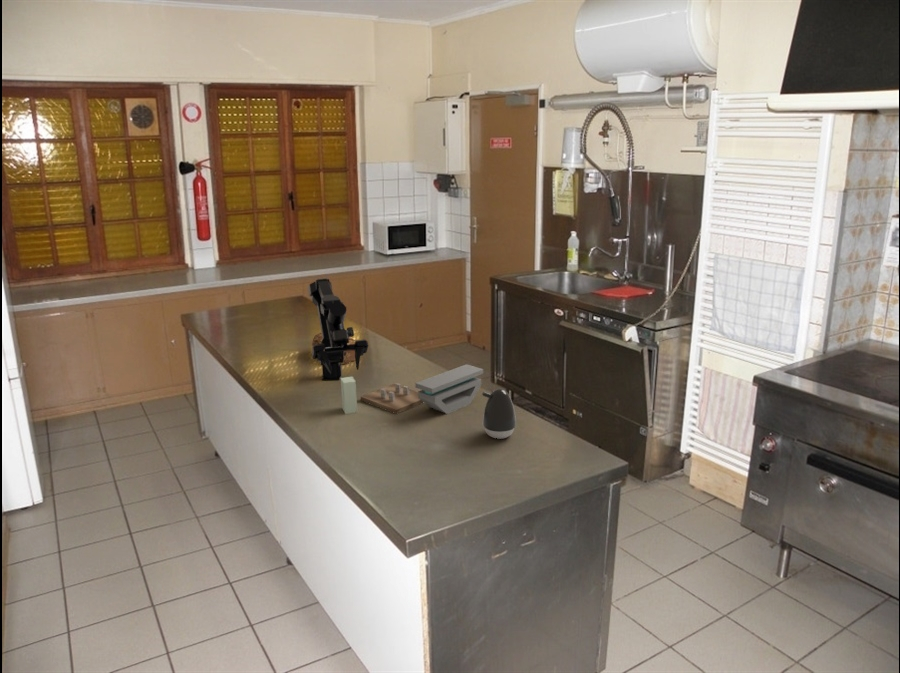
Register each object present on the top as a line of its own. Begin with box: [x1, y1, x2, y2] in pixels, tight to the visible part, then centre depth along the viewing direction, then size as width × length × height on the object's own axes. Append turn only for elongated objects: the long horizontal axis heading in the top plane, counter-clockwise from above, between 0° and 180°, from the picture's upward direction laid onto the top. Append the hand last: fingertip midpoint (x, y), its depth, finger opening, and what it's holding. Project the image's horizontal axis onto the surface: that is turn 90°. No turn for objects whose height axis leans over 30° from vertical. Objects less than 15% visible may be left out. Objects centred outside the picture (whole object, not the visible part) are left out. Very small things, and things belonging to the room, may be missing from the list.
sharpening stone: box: [414, 363, 484, 415], centre depth 235 cm, size 25×8×11 cm, turn 136°
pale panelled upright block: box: [340, 376, 358, 415], centre depth 232 cm, size 4×6×11 cm
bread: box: [311, 332, 356, 365], centre depth 284 cm, size 19×11×10 cm, turn 51°
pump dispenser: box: [481, 388, 517, 440], centre depth 212 cm, size 10×10×15 cm
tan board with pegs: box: [360, 382, 424, 415], centre depth 241 cm, size 16×18×4 cm
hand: (344, 371), depth 235 cm, fingers open, 9 cm apart
